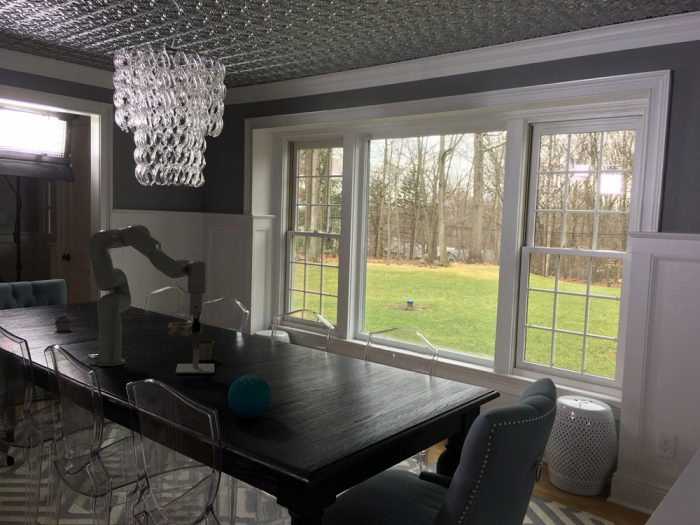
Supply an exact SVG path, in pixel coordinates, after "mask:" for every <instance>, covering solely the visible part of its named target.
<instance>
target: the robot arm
mask: <svg viewBox="0 0 700 525" xmlns="http://www.w3.org/2000/svg"><path fill="white" fill-rule="evenodd" d="M87 244H88V245H87V251H88V255H89V258H90V262H91V268H92V273H93V276H94V277H93V278H94V282H95V285H96V287H97V289H98V290H99V291H102V292H108V291H109V293H106V294H104V295H102V296H101V297H100V298H99V299H98V301H97V304H96V308H97V309H96V310H97V314H98V353H96V354H88V356H87V360H91V361H92V360H94V365H95V366H97V365H98V366H97V367H101V366H114V367H118V366H117V365H120V366H122V365H121V364H123V365H125V363H126V359H124V358H122V339H123V336H122V334H123V332H122V331H123V323H122V321H123V320H122V318H121V314H120V313H124V312H126V311H127V310H128V309H130V308H131V305H132V296H131V291H130V287H129V282H128V281H129V280H128V277H127V275H126V273H125V272H124V271H123V270H122V269H121V268H117V267H114V264H113V260H112V257H111V254H110V253H109V250H111V249H119V248H125V247H132V248H133V249H135V250H136V251H138V252H139V253H140V254H142V255H143V256H144V257H146V258H147V259H148V260H149V263H151V264H152V266H153V267H154V268H155V269H156V270H158V271H160V272H161V273H162V274H163V275H165V276H166V277H168V278H170V279H179V278H183V277H187V293H188V294H189V316H190V317H192V322H193V323H192V332H200V323H201V316H202V312H203V303H204V301H203V299H204V298H203V296H204V294H206V286H207V285H206V282H207V281H206V279H207V278H206V276H207V275H206V274H207V265H206V262H205V261H202V260H188V259H178V260H177V259H176V260H174V259H173V258H171V257H170V256H169V255H168V254H166V253H165V252H164V251H163V250H162V243H161V242H160V241H159V240H157V239H156V238H154V237H152V235H151V232H150V230H149V229H148V228H147V227H146V226H144V225H141V224H135V225H129V226H126V227H123V228H118V229H117V228H114V229H101V230H98V231H96V232H95V233H94V234H92V236H90V238H89V240H88V243H87Z"/></svg>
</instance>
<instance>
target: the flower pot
mask: <svg viewBox="0 0 700 525" xmlns="http://www.w3.org/2000/svg"><path fill="white" fill-rule="evenodd" d="M197 341H198V342H199V343H200V348H199V360H210V359H211V360H212V357H213V356H212V355H213V348H214V347H215V346H214V344H215V343H216V341H214V340H212V339H198V340H197ZM211 360H210V361H211Z"/></svg>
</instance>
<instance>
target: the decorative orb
mask: <svg viewBox="0 0 700 525" xmlns="http://www.w3.org/2000/svg"><path fill="white" fill-rule="evenodd" d="M271 401H272V392H271V388H270V386H269V384H268V383H267V381H266V380H265V379H264V378H262V377H260V376H259V375H255V374H245V375H242V376H240V377H238V378H236V379H235V380H234V381H233V382H232V384H231V385H230V387H229V389H228V392H227V402H228V403H227V404H228V406H229V408H230V410H231V412H233V413H234V414H235V415H236V416H238V417H239V418H241V417H242V419H245V418H252V419H255V417H256V418H258V417H260V416H262V415H263V414H264V413H265V412H266V411H267V409H268V408H270V404H271Z"/></svg>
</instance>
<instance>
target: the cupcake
mask: <svg viewBox="0 0 700 525" xmlns="http://www.w3.org/2000/svg"><path fill="white" fill-rule="evenodd" d="M54 324H55V327H56V330H57V332H59V331H60V333H63V332H69V331H70V330H71V327H72V325H73V321H72V319H71V317H70V316H69V315H68V314H66V313H64V312H62V314H61V315H59V316H58V317H56V319H55V321H54Z"/></svg>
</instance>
